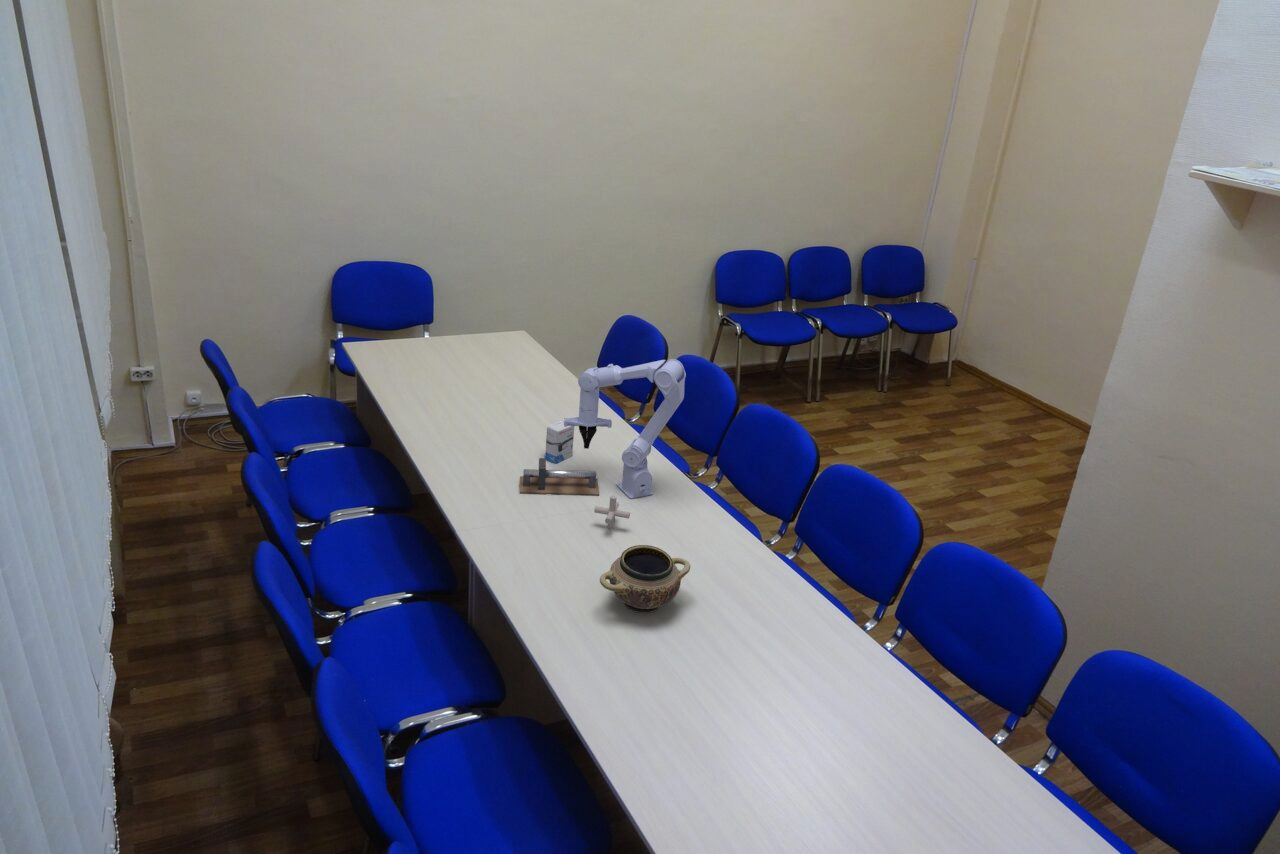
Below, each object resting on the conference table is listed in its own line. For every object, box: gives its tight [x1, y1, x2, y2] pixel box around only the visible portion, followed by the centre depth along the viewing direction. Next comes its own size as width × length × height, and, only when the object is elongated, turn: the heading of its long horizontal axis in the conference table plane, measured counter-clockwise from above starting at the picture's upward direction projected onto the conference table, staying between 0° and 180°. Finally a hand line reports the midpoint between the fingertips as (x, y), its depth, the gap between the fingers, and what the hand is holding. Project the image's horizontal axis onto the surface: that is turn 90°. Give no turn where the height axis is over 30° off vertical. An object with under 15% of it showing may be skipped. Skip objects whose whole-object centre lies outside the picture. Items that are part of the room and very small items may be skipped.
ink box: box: [544, 419, 575, 465], centre depth 298 cm, size 8×5×12 cm, turn 143°
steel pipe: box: [522, 468, 597, 488], centre depth 281 cm, size 22×3×5 cm, turn 96°
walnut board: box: [519, 475, 600, 497], centre depth 283 cm, size 24×10×1 cm, turn 96°
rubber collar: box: [538, 457, 547, 489], centre depth 280 cm, size 2×7×7 cm, turn 6°
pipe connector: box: [593, 495, 631, 530], centre depth 262 cm, size 10×10×10 cm
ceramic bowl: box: [599, 544, 691, 614], centre depth 230 cm, size 24×18×15 cm
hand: (586, 447), depth 286 cm, fingers closed
